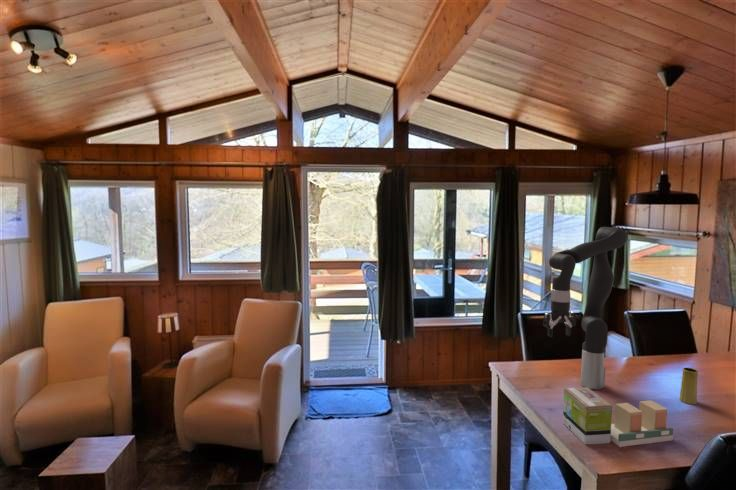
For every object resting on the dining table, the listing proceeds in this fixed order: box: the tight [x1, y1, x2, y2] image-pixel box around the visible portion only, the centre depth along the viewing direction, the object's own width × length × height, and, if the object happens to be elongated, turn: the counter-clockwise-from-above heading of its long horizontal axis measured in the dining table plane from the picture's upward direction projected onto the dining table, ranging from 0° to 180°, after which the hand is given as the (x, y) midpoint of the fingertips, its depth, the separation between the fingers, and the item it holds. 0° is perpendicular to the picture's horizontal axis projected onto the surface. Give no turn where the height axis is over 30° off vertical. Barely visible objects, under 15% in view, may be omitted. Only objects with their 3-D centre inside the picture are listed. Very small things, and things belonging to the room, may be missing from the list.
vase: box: [679, 367, 699, 405], centre depth 181 cm, size 6×6×14 cm
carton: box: [613, 402, 642, 433], centre depth 154 cm, size 5×7×9 cm
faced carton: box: [638, 400, 668, 430], centre depth 156 cm, size 5×7×9 cm
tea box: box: [562, 386, 613, 445], centre depth 156 cm, size 15×10×15 cm, turn 5°
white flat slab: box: [610, 423, 674, 448], centre depth 155 cm, size 22×11×4 cm, turn 101°
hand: (559, 336), depth 183 cm, fingers open, 8 cm apart
